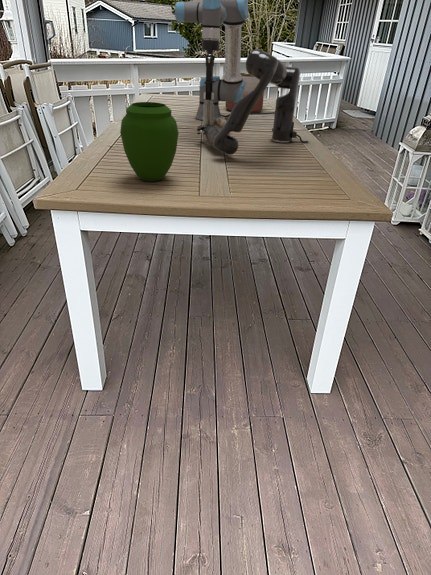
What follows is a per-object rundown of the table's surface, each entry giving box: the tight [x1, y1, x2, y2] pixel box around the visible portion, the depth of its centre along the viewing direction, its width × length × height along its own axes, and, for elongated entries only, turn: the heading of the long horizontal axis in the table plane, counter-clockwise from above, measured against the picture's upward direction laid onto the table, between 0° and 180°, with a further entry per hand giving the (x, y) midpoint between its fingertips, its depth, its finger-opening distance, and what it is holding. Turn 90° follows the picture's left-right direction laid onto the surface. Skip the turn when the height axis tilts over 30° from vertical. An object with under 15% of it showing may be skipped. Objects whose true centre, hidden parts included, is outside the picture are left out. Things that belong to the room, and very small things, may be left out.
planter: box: [225, 72, 265, 113], centre depth 276 cm, size 25×25×22 cm
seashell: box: [213, 116, 227, 127], centre depth 214 cm, size 10×6×8 cm, turn 97°
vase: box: [119, 101, 179, 182], centre depth 140 cm, size 20×20×24 cm
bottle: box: [201, 100, 214, 145], centre depth 192 cm, size 5×5×21 cm
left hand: (208, 98), depth 188 cm, fingers closed on cap, 5 cm apart
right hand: (206, 127), depth 196 cm, fingers closed on bottle, 5 cm apart
